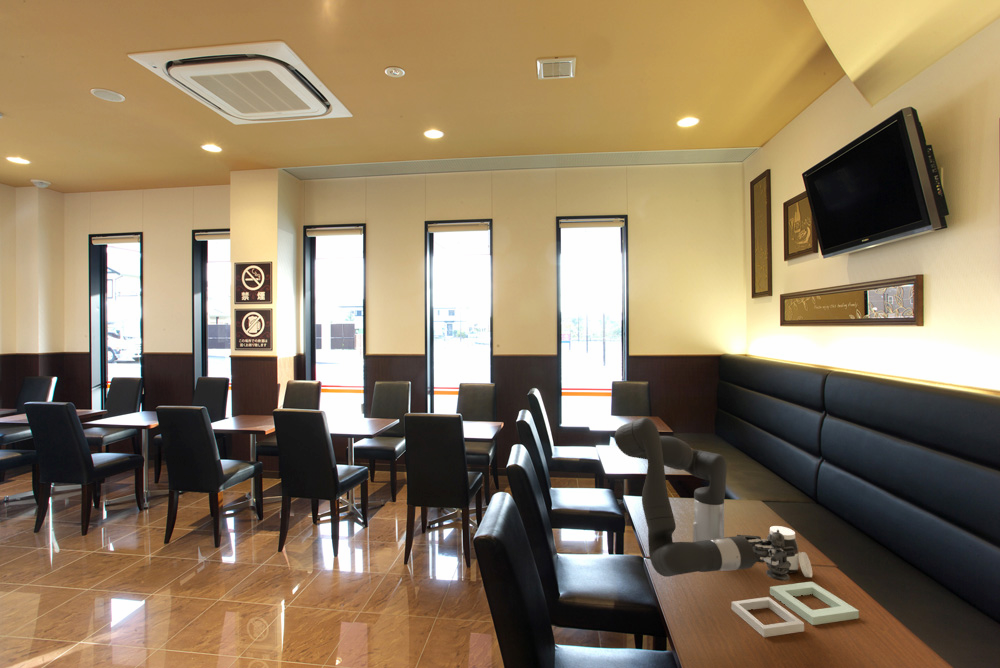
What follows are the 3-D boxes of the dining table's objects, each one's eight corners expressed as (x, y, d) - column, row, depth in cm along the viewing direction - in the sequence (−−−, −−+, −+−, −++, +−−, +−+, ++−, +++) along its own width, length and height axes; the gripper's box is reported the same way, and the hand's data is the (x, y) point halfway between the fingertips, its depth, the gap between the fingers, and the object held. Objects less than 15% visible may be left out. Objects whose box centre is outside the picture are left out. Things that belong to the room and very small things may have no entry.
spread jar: (763, 558, 150) (764, 522, 150) (803, 562, 147) (803, 526, 146) (775, 577, 138) (775, 538, 138) (818, 582, 135) (818, 543, 135)
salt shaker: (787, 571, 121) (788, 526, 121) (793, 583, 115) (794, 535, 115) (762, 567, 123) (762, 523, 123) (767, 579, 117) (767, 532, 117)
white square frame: (763, 637, 111) (763, 629, 111) (731, 609, 122) (731, 601, 122) (804, 631, 113) (804, 623, 113) (768, 604, 124) (768, 596, 124)
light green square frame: (812, 625, 116) (812, 617, 116) (769, 593, 129) (769, 586, 129) (858, 618, 118) (858, 610, 118) (812, 588, 132) (812, 581, 132)
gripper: (749, 552, 109) (810, 545, 113) (711, 526, 123) (766, 521, 127) (749, 583, 110) (810, 575, 113) (711, 554, 123) (766, 548, 127)
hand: (787, 547), depth 120 cm, fingers closed on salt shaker, 3 cm apart
